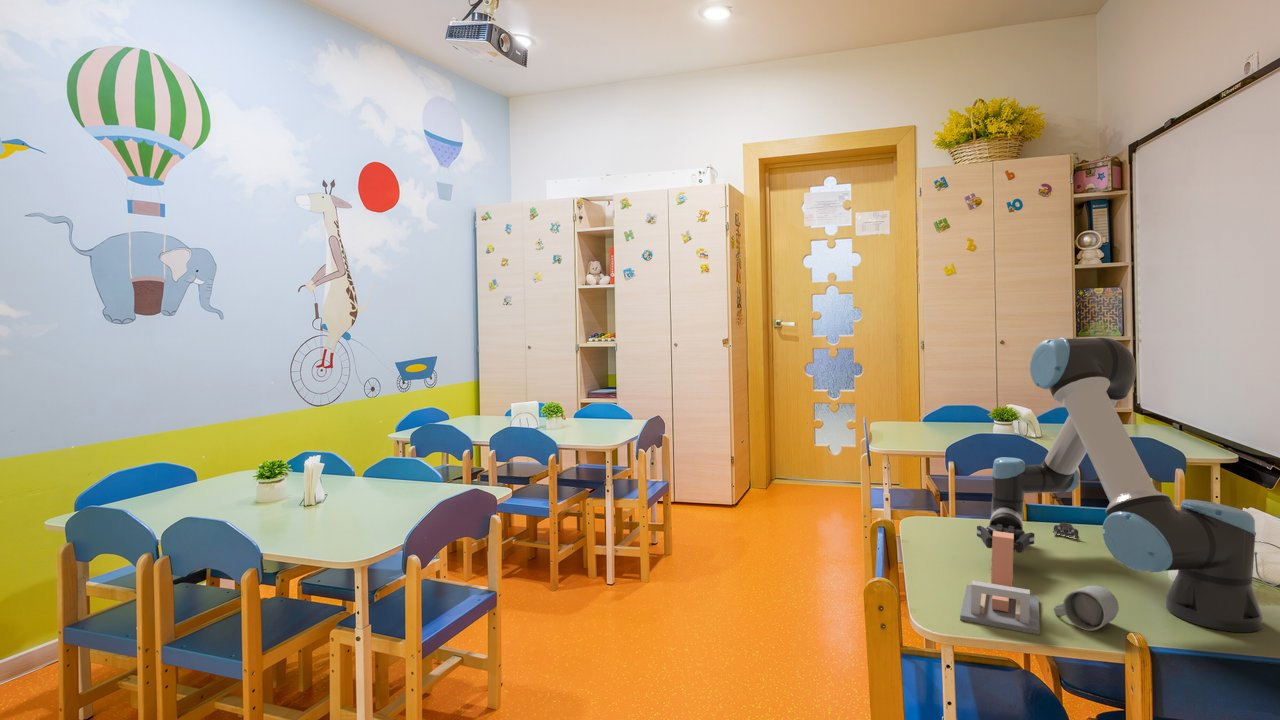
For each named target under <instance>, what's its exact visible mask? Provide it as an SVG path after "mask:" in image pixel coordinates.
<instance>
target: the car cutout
mask: <svg viewBox="0 0 1280 720" xmlns="http://www.w3.org/2000/svg"><path fill="white" fill-rule="evenodd" d="M1052 533H1053V534H1054V535H1055V534H1060V535H1065V536H1069V537H1073V539H1074V538H1077V539H1080V536H1079V531H1078V529H1077V528H1075V527H1073V525H1072V524H1071V523H1067V522H1060V523H1059V524H1056V525H1054V526H1053V530H1052ZM1054 535H1053V536H1054ZM1073 539H1072V540H1073Z"/></svg>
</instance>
